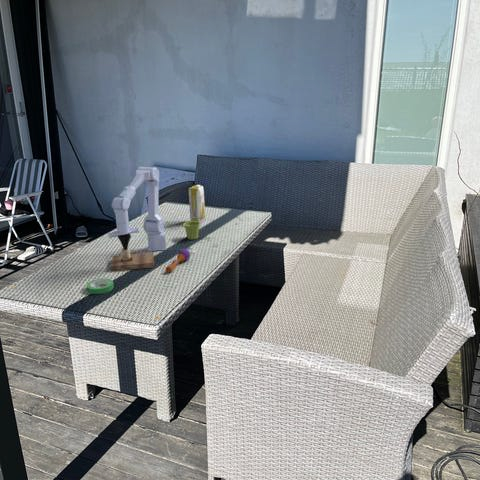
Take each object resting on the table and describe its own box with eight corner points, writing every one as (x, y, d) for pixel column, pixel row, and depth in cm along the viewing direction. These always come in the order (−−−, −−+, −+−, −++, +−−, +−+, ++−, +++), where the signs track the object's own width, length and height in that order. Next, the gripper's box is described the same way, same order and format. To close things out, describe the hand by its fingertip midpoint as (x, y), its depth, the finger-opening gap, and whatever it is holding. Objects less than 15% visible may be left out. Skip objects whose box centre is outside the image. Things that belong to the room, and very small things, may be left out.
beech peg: (129, 262, 227) (127, 247, 224) (132, 264, 224) (130, 249, 221) (121, 264, 225) (119, 248, 222) (124, 266, 222) (122, 251, 219)
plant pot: (181, 239, 259) (180, 225, 256) (189, 234, 267) (188, 220, 264) (196, 241, 255) (195, 226, 252) (203, 236, 263) (202, 222, 261)
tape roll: (88, 296, 192) (88, 290, 191) (85, 286, 201) (85, 280, 200) (115, 291, 196) (115, 285, 195) (111, 282, 205) (111, 276, 205)
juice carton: (201, 224, 285) (199, 186, 278) (189, 223, 288) (187, 186, 280) (206, 220, 294) (204, 183, 286) (194, 219, 296) (192, 183, 288)
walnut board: (153, 257, 233) (153, 252, 232) (153, 267, 220) (153, 262, 219) (113, 260, 230) (112, 255, 229) (111, 271, 217) (110, 266, 216)
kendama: (161, 264, 213) (179, 247, 231) (164, 276, 215) (182, 258, 233) (172, 263, 211) (190, 246, 228) (175, 275, 213) (193, 257, 230)
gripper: (133, 217, 224) (136, 243, 229) (104, 223, 216) (107, 250, 221) (139, 220, 219) (141, 247, 223) (110, 226, 211) (113, 254, 215)
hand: (125, 249), depth 222 cm, fingers closed
